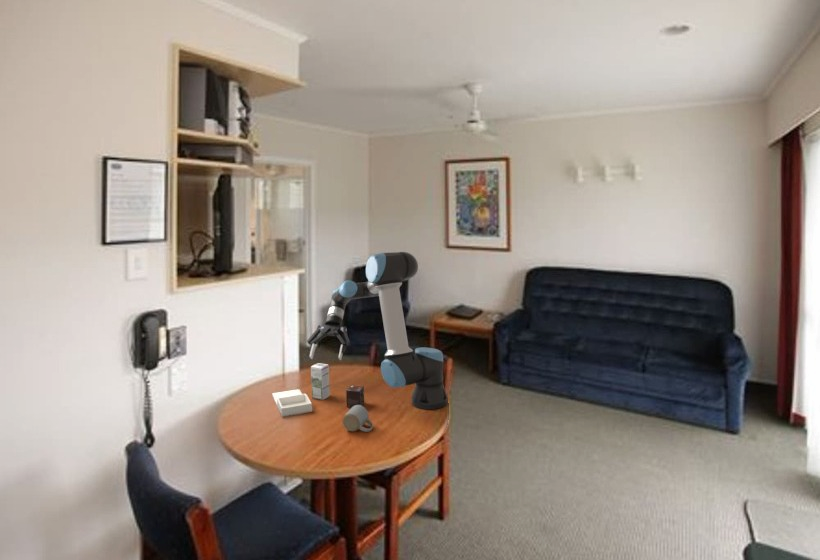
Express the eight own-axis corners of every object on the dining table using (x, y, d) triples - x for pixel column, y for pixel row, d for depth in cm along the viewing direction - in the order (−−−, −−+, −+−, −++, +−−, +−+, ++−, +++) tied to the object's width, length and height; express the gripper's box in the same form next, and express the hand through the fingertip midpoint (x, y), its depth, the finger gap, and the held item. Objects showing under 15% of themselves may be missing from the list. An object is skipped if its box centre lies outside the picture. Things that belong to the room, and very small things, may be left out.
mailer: (312, 411, 195) (311, 403, 195) (281, 416, 190) (281, 408, 190) (299, 389, 220) (298, 382, 219) (272, 394, 215) (271, 386, 214)
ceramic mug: (341, 431, 177) (341, 411, 176) (351, 422, 185) (350, 403, 184) (367, 435, 174) (367, 415, 173) (376, 426, 181) (376, 406, 180)
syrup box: (330, 395, 212) (329, 363, 210) (322, 400, 207) (321, 367, 205) (319, 393, 214) (318, 362, 212) (311, 398, 209) (310, 366, 207)
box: (360, 408, 198) (359, 391, 197) (346, 407, 199) (345, 390, 198) (364, 402, 204) (364, 386, 203) (350, 401, 205) (350, 385, 204)
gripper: (361, 323, 231) (353, 363, 218) (312, 321, 235) (301, 361, 222) (358, 314, 225) (350, 355, 212) (307, 313, 229) (296, 353, 216)
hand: (325, 358), depth 217 cm, fingers open, 13 cm apart
